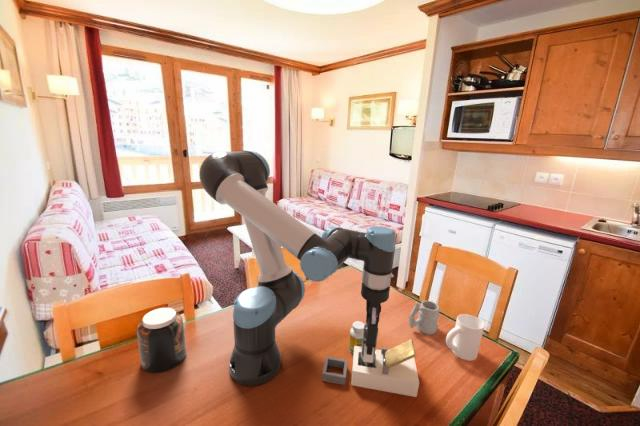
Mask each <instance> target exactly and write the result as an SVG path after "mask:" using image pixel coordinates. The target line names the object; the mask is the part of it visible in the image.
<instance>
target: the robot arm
mask: <svg viewBox="0 0 640 426" xmlns="http://www.w3.org/2000/svg"><path fill="white" fill-rule="evenodd" d="M269 165H270V164H269V163H268V162H267V160H266V158H265V157H264V156H263V154H262V155H261V154H260V153H258V152H256V151H251V150H250V151H249V150H238V151H218V152H217V151H216V152H214V153H212V154H210V155H208V156H207V157H205V158H204V160H203V161H202V163H201V165H200V168H199V175H198V177H199V181H200V184H201V186H202V188H203V190H204V191H205V192H206V193H207V194H208V195H209V196H210V198H212V199H213V200H214V201H216V202H217V203H218V204H219V205H227V206H228V207H230V208H231V209H232V210H234V211H235V212H236V213H238V214H239V215H240V216H242V218H243V221H244V223H245V228H246V230H247V233H248V236H249V240H250V243H251V246H252V249H253V253H254V256H255V259H256V261H257V264H258V265H257V266H258V269H259V273H260V274H259V277H258V278H257V282H258V286H254V287H253V288H252V287H249V288H247V289H245V290H243V291H241V292H240V293H239V294H238V295H237V296H236V298H235V300H234V302H233V310H232V319H233V335H234V336H233V337H234V345H233V349H232V352H231V354H230V358H229V360H228V368H229V369H228V370H229V374H230V376H231V379H232V380H233V381H235V382H236V383H238V384H240V385H243V386H249V387H251V386H252V387H253V386H259V385H263V384H265V383H267V382H269V381H270V380H272V379H273V378H274V377H275V376H276V375H277V373H278V372H279V370H280V368H281V363H282V362H281V360H282V359H281V358H282V354H281V351H280V350H279V346H278V345H277V342H276V328H277V326H278V324H280V323H281V322H282V321H283V320H284V319H285V318H286V317H287V316H288V315H289V314H291V312H292V311H293V310H295V309H296V308H297V307H298V306H299V304H300V303H301V302H302V301H303V299H304V297H305V292H306V288H305V283H304V281H303V279H302V278H303V277H301V276H300V275H298V273H297V272H295V271H294V269H293V267H291V266H289V265H288V264H287V263H286V260H285V257H284V252H283V249H284V250H286V251H287V252H288V253H290V254H292V255H293V256H294V257H295V258H296V259H298V260H299V261H300V262H299V265H300V269H301V271H302V272H303V275H304V276H305V277H306V278H307V279H309V280H310V281H312V282H322V281H325V280H326V279H328V278H330V276H332V275H333V274H335V273H336V272H337V269H339V268H340V266H342V265H343V264H344V263H345V262H346V261H347V260H348V259H353V260H356V261H362V262H363V266H362V274H361V275H362V277H361V281H362V282H361V289H360V295H361V297H362V298H363V299H364V300H365V302H366V303H365V304H366V307H365V308H366V309H365V310H366V316H365V318H366V319H365V325H366V324H367V334H366V340H363V343H364V344H365V347H364V356H363V361H364V362H370V363H373V356H374V348H375V347H376V348H377V345H376V337H377V338H378V336H377V329H378V330H379V323H380V316H381V312H382V305H381V304H383V303H385V302H387V301H388V300H389V297H390V290H391V281H392V280H391V279H392V278H394V276H395V275H394V274H393V273H392V272H393V265H394V258H395V254H396V253H395V252H396V248H397V247H396V241H397V240H396V239H397V238H396V237H397V234H396V232H395V231H394V230H393V229H392V228H389V227H386V226H381V225H380V226H378V225H377V226H376V225H375V226H374V225H373V226H370V227H368V228H367V230H366V232H361V231H359V230H358V231H357V230H352V229H347V228H343V227H341V226H337V227H336V226H328V227H326V228H325V229H324V232H322V235H321V236H320V235H319V234H317V233H316V232H314V231H313V230H312V229H310V228H309V227H307V226H306V224H305V225H304V224H303V223H302V222H301V221H299V220H298V219H296V218H295V217H293V215H292V214H290V213H288V212H287V211H286V210H285V209H283V208H281V207H280V206H279V205H277V204H276V203H275V202H273V201H272V200H270V198H268V197H267V196H266V195H267V191H268V190H269V187H268V183H267V182H268V181H269V177H270V175H271V170H270V166H269ZM282 248H283V249H282Z"/></svg>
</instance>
